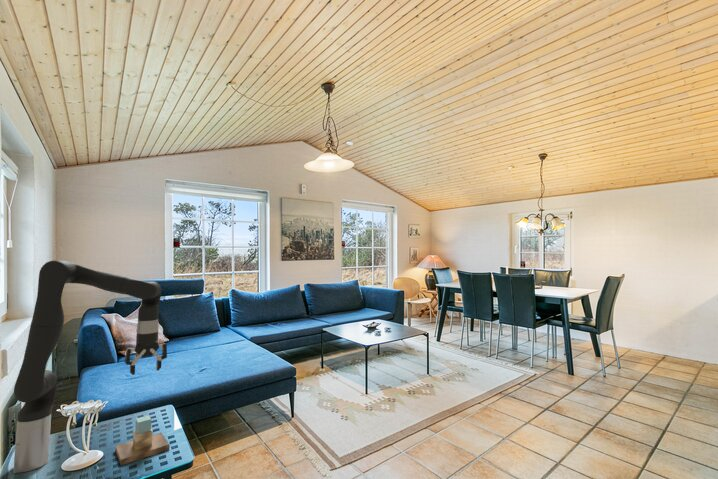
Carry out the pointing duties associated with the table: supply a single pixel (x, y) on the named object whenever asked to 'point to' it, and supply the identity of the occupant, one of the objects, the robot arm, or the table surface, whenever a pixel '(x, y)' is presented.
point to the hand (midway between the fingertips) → (145, 372)
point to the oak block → (142, 439)
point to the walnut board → (129, 454)
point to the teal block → (143, 424)
